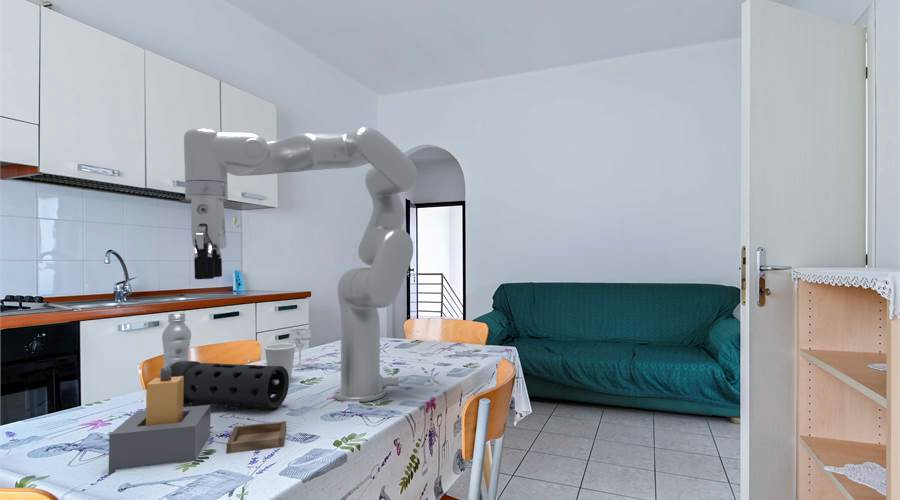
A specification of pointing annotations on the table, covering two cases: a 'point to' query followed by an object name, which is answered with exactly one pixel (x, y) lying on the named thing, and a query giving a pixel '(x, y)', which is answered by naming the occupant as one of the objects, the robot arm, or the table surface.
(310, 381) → the table surface
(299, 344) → the wineglass
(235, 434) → the tray
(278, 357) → the dixie cup
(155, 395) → the plug
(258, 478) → the table surface
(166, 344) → the plastic bottle
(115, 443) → the socket block
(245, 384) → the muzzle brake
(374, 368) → the robot arm
